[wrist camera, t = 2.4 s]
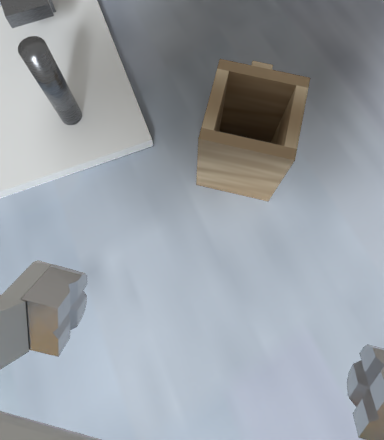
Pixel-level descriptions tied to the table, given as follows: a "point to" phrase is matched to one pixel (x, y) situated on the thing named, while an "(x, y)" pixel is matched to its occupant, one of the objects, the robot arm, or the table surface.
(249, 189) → the wooden pencil holder
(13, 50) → the base plate
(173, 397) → the table surface
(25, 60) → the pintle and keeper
